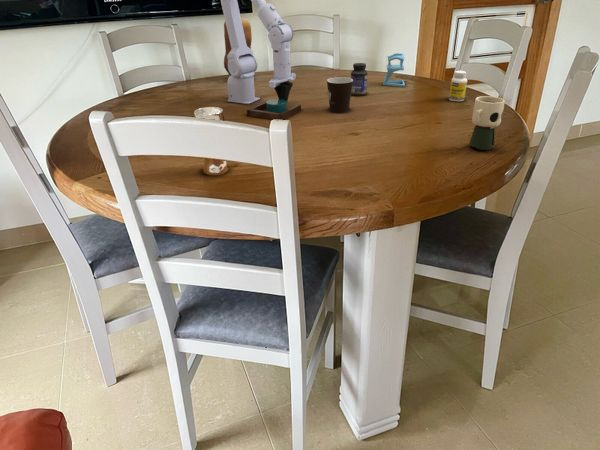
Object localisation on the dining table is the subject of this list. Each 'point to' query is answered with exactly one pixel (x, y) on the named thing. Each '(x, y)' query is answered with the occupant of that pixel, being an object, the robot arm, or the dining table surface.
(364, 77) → the pill bottle
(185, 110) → the dining table surface
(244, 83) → the robot arm
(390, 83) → the chair
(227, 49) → the butternut squash
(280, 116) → the walnut bay
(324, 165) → the dining table surface
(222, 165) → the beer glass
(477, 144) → the character mug
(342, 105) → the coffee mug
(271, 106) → the teal puck
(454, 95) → the supplement bottle
